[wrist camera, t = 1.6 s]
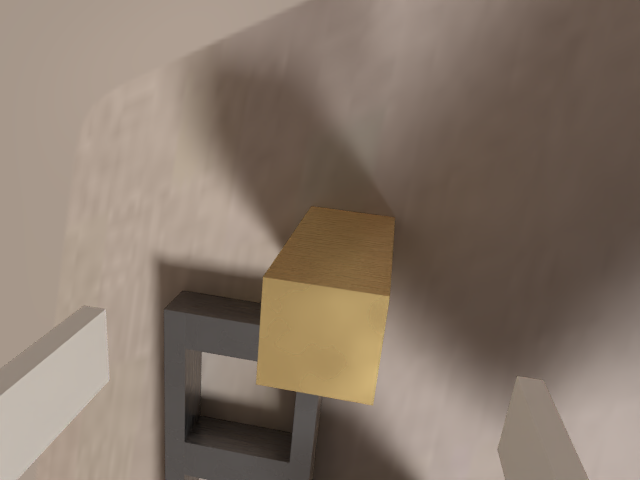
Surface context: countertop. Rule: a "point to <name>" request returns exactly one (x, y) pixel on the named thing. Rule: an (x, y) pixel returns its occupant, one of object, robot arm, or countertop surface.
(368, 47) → the countertop surface
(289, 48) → the countertop surface
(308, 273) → the brass block
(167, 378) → the rack
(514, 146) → the countertop surface
